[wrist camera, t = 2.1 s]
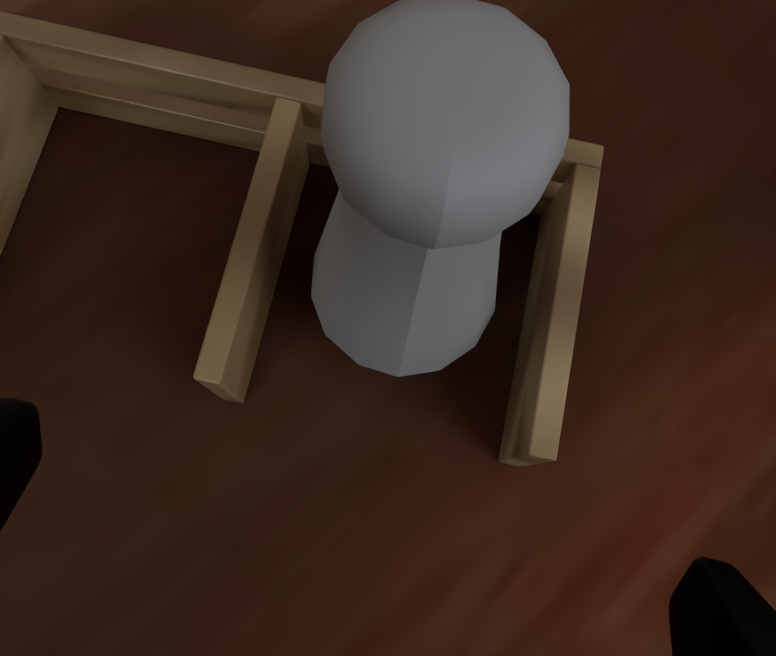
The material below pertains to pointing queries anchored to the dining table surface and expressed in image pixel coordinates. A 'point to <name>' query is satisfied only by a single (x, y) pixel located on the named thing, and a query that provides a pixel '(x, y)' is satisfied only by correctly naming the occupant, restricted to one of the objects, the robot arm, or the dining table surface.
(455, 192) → the salt shaker
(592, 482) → the dining table surface
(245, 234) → the rack
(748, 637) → the robot arm
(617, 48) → the dining table surface
